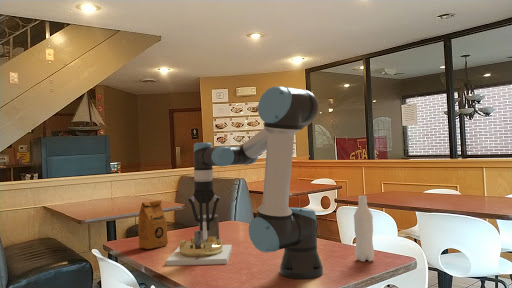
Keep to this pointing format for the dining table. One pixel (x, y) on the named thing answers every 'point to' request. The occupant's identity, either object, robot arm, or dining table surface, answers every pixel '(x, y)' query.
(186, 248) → the gold round notched piece
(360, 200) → the water bottle
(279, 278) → the dining table surface
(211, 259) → the mount plate
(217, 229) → the pillar candle
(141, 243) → the coffee package
